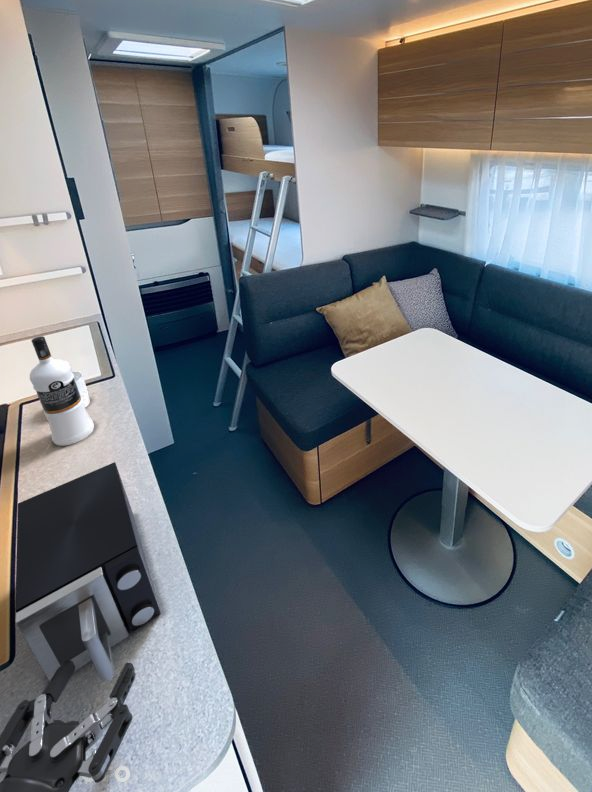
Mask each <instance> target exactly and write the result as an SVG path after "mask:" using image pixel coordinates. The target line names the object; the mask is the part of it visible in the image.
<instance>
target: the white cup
mask: <svg viewBox="0 0 592 792" xmlns="http://www.w3.org/2000/svg"><path fill="white" fill-rule="evenodd" d="M72 373H73V374H74V379H75V382H76V385H77V388H78V390H79V393H80V396H81V398H82V399H83V404H84V407H85V408H87V407H88V406H89V405H90V402H91V401H90V400H91V399H90V396H89V392H88V388H87V387H88V386H87V384H86V381H85V377H84V374H83V372H81V371H72Z"/></svg>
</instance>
